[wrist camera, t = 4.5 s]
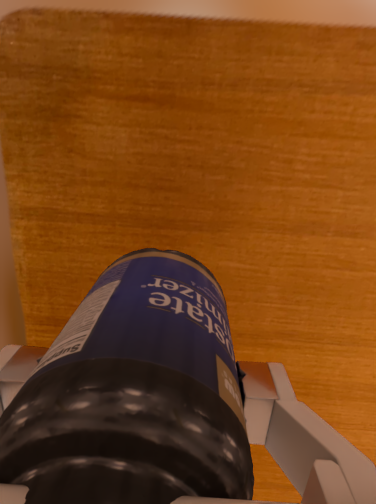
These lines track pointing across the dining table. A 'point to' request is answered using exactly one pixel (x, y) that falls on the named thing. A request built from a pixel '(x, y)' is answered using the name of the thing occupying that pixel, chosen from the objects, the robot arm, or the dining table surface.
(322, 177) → the dining table surface
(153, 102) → the dining table surface
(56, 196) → the dining table surface
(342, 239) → the dining table surface
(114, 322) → the pill bottle
